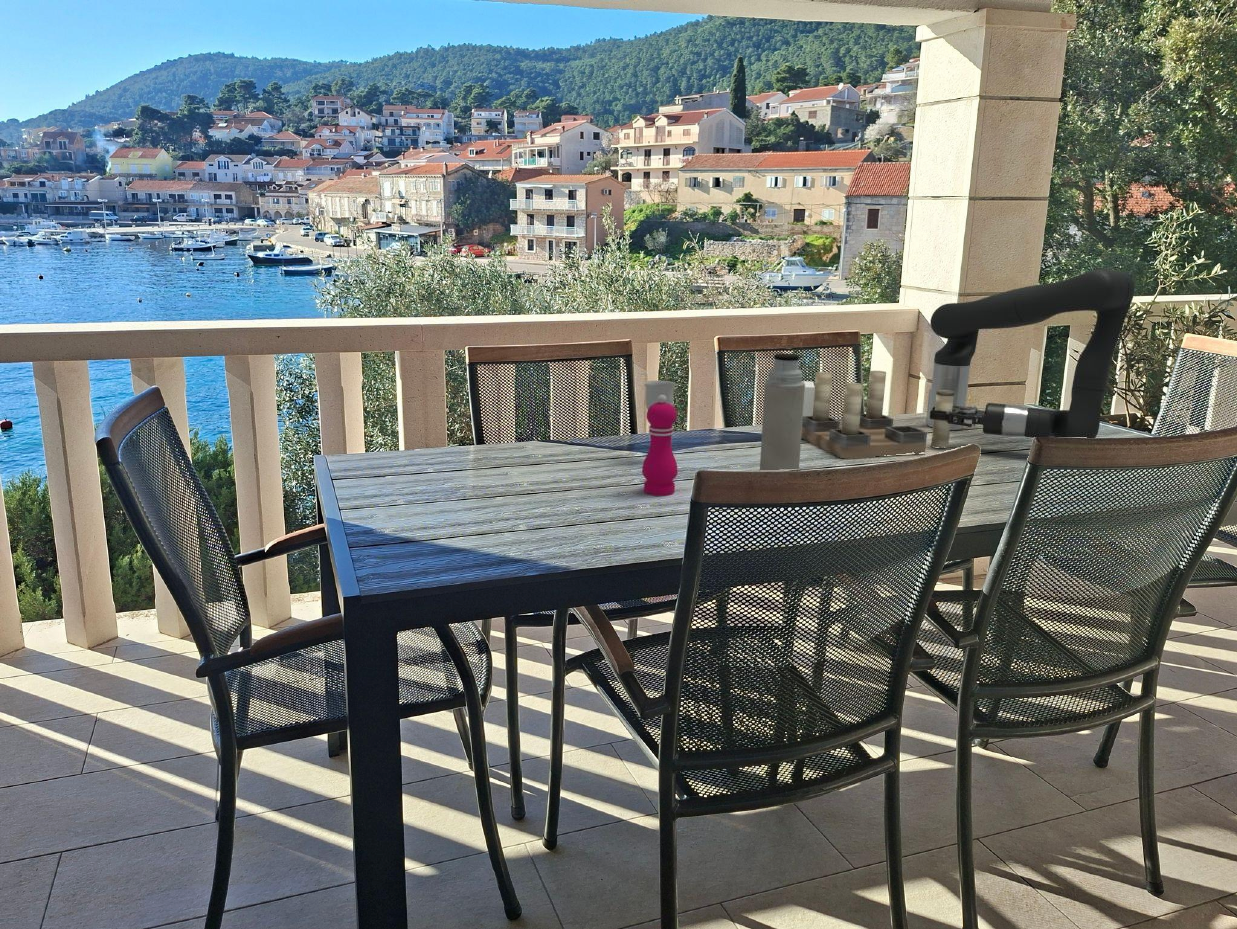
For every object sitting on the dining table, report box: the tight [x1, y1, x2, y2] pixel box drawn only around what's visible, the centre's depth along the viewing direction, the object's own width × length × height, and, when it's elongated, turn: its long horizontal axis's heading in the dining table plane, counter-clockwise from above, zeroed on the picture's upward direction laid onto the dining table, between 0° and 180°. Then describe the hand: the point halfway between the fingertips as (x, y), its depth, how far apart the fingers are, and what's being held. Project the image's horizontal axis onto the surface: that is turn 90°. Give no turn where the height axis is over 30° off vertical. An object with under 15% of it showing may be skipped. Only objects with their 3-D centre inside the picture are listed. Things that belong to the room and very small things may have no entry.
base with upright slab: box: [802, 380, 815, 416], centre depth 250 cm, size 9×9×12 cm
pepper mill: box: [641, 395, 679, 497], centre depth 191 cm, size 7×7×20 cm
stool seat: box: [801, 370, 928, 459], centre depth 232 cm, size 22×22×17 cm
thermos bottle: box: [759, 353, 805, 471], centre depth 194 cm, size 8×8×28 cm
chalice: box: [643, 380, 677, 411], centre depth 214 cm, size 7×7×18 cm
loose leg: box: [930, 390, 954, 449], centre depth 233 cm, size 4×4×14 cm
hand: (931, 412), depth 234 cm, fingers closed on loose leg, 4 cm apart
